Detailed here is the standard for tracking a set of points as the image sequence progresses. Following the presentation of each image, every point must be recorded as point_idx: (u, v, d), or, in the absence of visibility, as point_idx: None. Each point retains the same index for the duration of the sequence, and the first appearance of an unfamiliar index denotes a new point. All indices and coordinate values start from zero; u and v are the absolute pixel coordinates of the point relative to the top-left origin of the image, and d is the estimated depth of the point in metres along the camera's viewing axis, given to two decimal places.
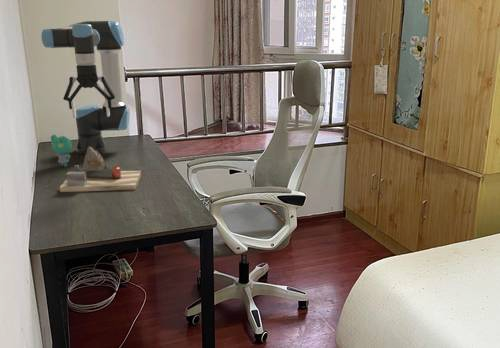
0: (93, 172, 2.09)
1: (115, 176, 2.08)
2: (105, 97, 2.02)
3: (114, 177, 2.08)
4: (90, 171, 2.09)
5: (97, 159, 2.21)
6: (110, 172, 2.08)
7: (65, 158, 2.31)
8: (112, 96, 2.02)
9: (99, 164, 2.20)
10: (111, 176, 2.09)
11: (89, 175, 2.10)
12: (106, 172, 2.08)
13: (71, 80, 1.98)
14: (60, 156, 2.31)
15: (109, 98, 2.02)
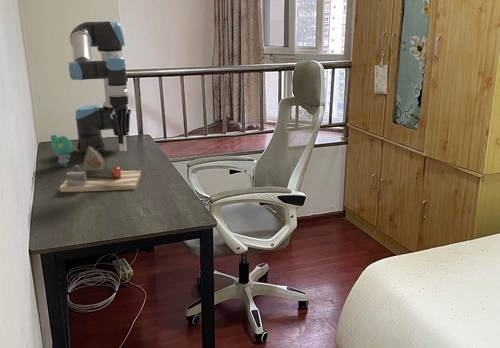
0: (93, 172, 2.09)
1: (115, 176, 2.08)
2: (125, 130, 2.10)
3: (114, 177, 2.08)
4: (90, 171, 2.09)
5: (97, 159, 2.21)
6: (110, 172, 2.08)
7: (65, 158, 2.31)
8: (128, 130, 2.12)
9: (99, 164, 2.20)
10: (111, 176, 2.09)
11: (89, 175, 2.10)
12: (106, 172, 2.08)
13: (115, 116, 2.02)
14: (60, 156, 2.31)
15: (126, 133, 2.11)
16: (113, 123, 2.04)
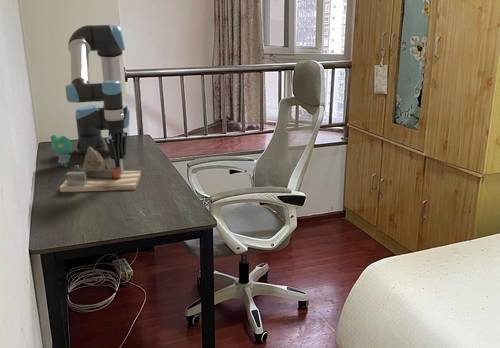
0: (93, 172, 2.09)
1: (114, 176, 2.07)
2: (121, 153, 2.08)
3: (114, 177, 2.07)
4: (90, 171, 2.09)
5: (97, 159, 2.21)
6: (109, 172, 2.07)
7: (65, 158, 2.31)
8: (125, 153, 2.11)
9: (99, 164, 2.20)
10: (110, 177, 2.08)
11: (89, 175, 2.09)
12: (105, 173, 2.08)
13: (111, 141, 2.01)
14: (60, 156, 2.31)
15: (123, 156, 2.10)
16: (110, 147, 2.02)
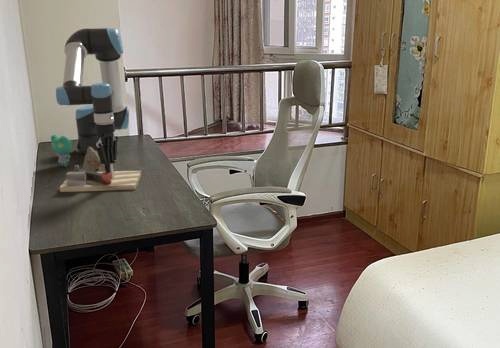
0: (87, 174, 2.06)
1: (103, 181, 2.01)
2: (112, 158, 2.03)
3: (103, 182, 2.02)
4: None
5: (97, 159, 2.21)
6: (100, 177, 2.02)
7: (65, 158, 2.31)
8: (115, 157, 2.05)
9: (99, 164, 2.20)
10: (101, 181, 2.03)
11: None
12: (97, 176, 2.03)
13: (101, 145, 1.95)
14: (60, 156, 2.31)
15: (113, 161, 2.04)
16: (99, 152, 1.97)
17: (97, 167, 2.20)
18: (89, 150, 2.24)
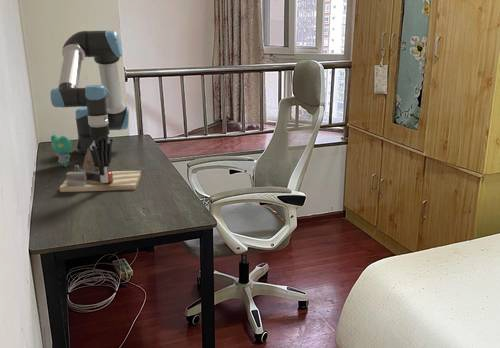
0: (88, 174, 2.07)
1: None
2: (106, 161, 1.99)
3: None
4: (86, 173, 2.07)
5: None
6: None
7: (65, 158, 2.31)
8: (109, 160, 2.01)
9: None
10: None
11: None
12: (98, 176, 2.04)
13: (95, 148, 1.92)
14: (60, 156, 2.31)
15: (108, 164, 2.00)
16: (93, 155, 1.93)
17: (97, 167, 2.20)
18: (89, 150, 2.24)
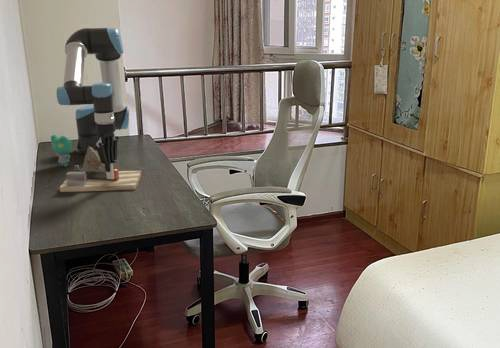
0: (91, 173, 2.08)
1: None
2: (112, 158, 2.03)
3: None
4: (89, 172, 2.08)
5: (97, 159, 2.21)
6: None
7: (65, 158, 2.31)
8: (115, 157, 2.05)
9: (99, 164, 2.20)
10: None
11: (88, 175, 2.09)
12: (104, 174, 2.07)
13: (101, 145, 1.95)
14: (60, 156, 2.31)
15: None
16: (99, 151, 1.97)
17: (97, 167, 2.20)
18: (89, 150, 2.24)
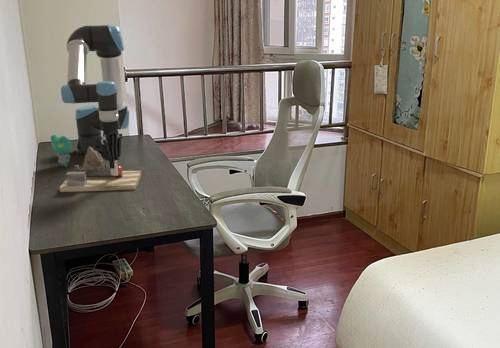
0: (94, 171, 2.10)
1: None
2: (116, 155, 2.07)
3: None
4: (91, 170, 2.10)
5: (97, 159, 2.21)
6: None
7: (65, 158, 2.31)
8: (119, 154, 2.09)
9: (99, 164, 2.20)
10: None
11: (90, 174, 2.10)
12: (108, 171, 2.10)
13: (106, 142, 1.99)
14: (60, 156, 2.31)
15: None
16: (104, 148, 2.01)
17: (97, 167, 2.20)
18: (89, 150, 2.24)
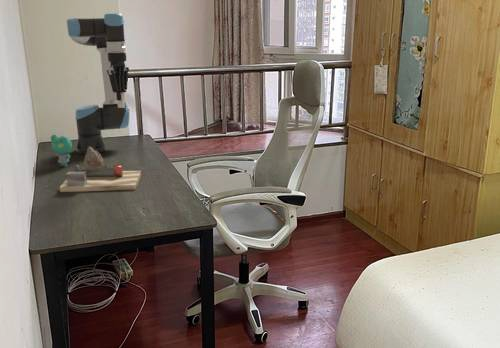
0: (94, 171, 2.10)
1: (118, 174, 2.10)
2: (123, 87, 2.13)
3: (117, 175, 2.10)
4: (91, 170, 2.10)
5: (97, 159, 2.21)
6: (112, 170, 2.10)
7: (65, 158, 2.31)
8: (126, 87, 2.16)
9: (99, 164, 2.20)
10: (113, 174, 2.11)
11: (90, 174, 2.10)
12: (108, 171, 2.10)
13: (113, 72, 2.06)
14: (60, 156, 2.31)
15: (124, 90, 2.15)
16: (111, 79, 2.07)
17: (97, 167, 2.20)
18: (89, 150, 2.24)
